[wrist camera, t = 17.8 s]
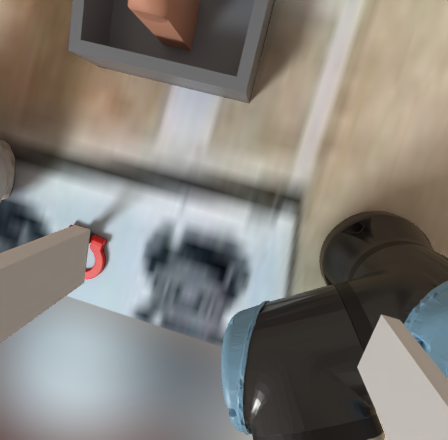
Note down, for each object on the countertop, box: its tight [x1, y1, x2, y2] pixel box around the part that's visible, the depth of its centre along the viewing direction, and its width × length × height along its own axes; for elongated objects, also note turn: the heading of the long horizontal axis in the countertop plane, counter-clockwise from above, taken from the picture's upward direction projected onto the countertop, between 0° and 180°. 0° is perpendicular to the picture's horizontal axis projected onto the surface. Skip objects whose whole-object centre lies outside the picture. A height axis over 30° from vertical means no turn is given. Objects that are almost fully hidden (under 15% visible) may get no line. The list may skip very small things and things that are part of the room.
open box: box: [68, 0, 275, 103], centre depth 35 cm, size 23×15×7 cm, turn 77°
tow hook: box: [69, 225, 107, 279], centre depth 44 cm, size 8×13×9 cm
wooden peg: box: [128, 0, 200, 51], centre depth 32 cm, size 4×6×12 cm, turn 166°
